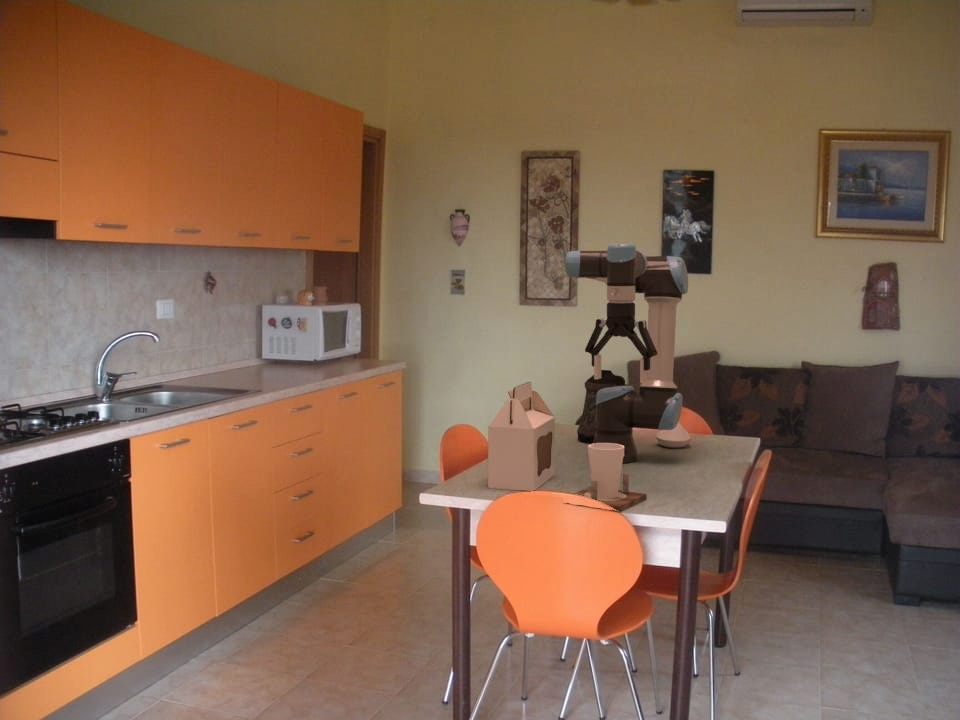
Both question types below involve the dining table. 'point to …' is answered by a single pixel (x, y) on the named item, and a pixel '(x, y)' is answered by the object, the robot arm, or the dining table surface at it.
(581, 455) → the dining table surface
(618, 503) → the pin board
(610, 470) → the foam cup
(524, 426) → the gable box
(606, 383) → the black backpack
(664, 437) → the spoon rest
